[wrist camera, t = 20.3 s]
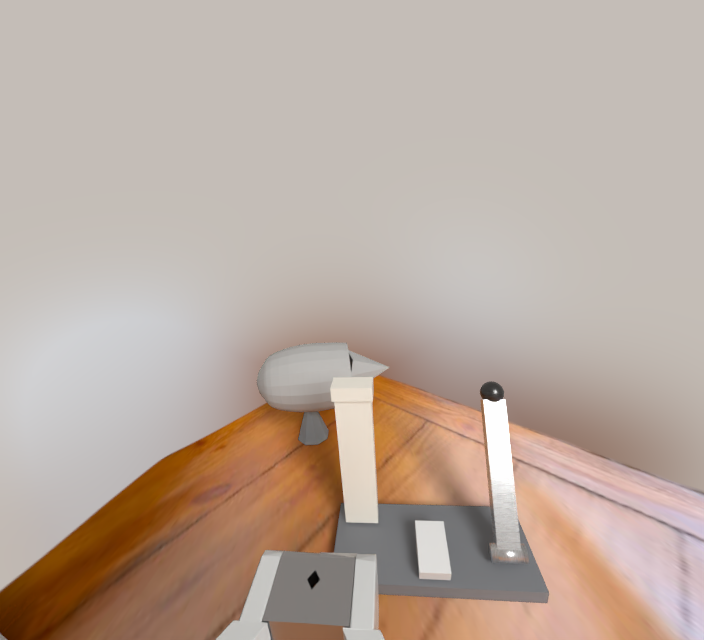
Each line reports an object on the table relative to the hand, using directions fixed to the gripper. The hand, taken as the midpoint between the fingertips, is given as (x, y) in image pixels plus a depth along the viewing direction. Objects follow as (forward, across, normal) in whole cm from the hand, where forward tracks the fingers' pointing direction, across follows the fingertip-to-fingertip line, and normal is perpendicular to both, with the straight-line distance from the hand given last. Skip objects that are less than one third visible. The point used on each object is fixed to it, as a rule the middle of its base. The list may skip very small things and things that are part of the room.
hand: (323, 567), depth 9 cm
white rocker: (+21, -6, +27) cm, 35 cm away
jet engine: (+44, +10, +30) cm, 54 cm away
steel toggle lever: (+21, -14, +27) cm, 37 cm away
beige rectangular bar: (+26, +2, +28) cm, 38 cm away
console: (+23, -6, +30) cm, 38 cm away
